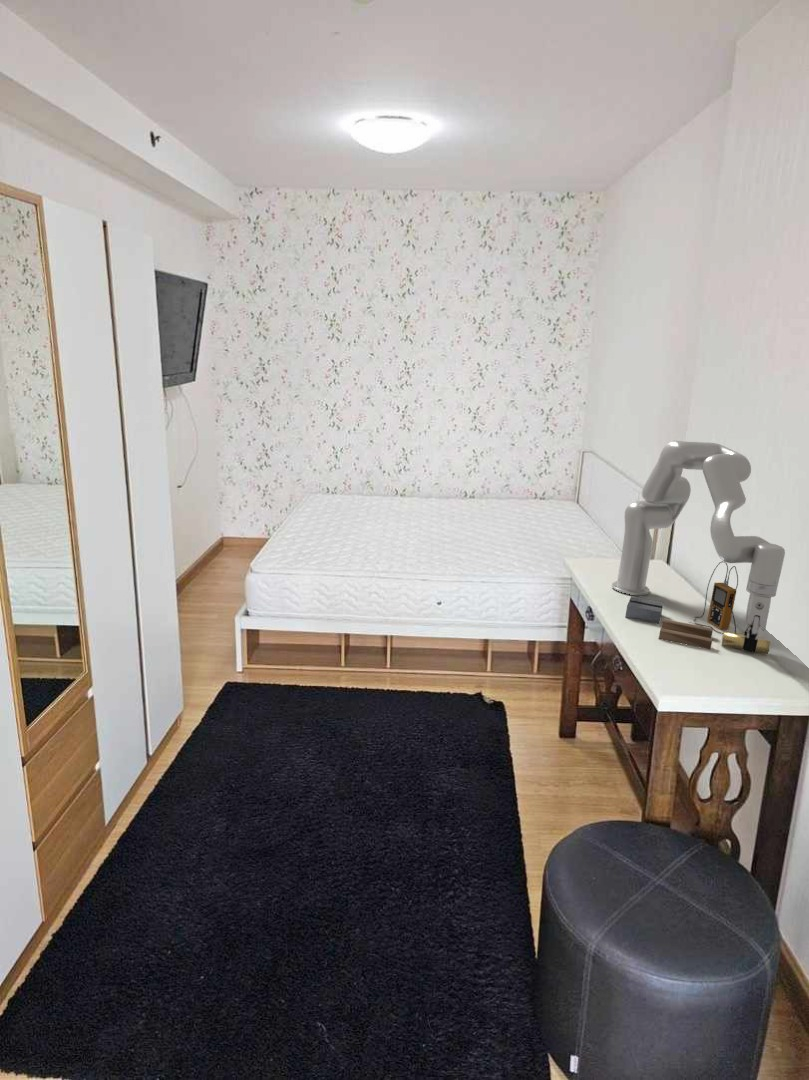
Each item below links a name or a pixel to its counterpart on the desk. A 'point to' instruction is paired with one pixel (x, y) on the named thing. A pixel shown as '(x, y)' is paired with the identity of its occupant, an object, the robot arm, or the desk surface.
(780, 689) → the desk surface
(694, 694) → the desk surface
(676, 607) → the desk surface
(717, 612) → the multimeter
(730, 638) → the axle
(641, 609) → the v block
